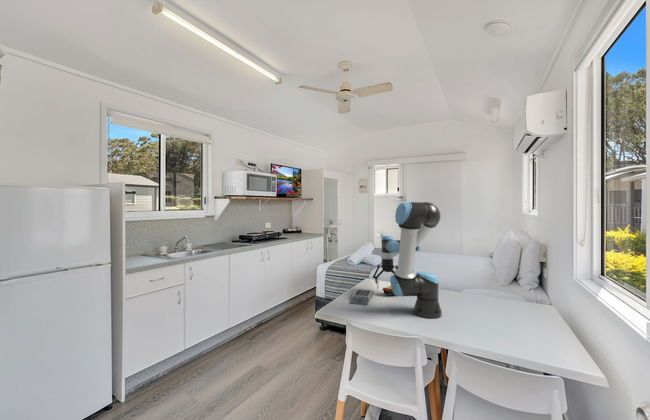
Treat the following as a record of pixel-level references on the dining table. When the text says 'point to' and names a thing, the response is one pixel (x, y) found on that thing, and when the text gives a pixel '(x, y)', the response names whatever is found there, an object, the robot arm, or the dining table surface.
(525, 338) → the dining table surface
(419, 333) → the dining table surface
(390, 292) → the gadget
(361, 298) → the grey rectangular box
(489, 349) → the dining table surface
